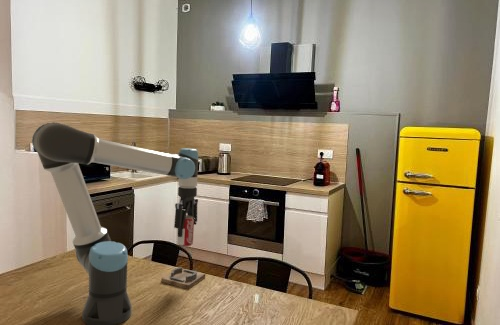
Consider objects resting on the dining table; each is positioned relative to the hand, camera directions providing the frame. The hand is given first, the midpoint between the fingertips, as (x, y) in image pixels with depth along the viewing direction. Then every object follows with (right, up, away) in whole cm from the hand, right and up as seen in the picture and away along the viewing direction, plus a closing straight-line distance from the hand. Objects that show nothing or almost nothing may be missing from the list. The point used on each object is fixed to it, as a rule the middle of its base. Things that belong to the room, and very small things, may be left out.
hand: (185, 241), depth 152 cm
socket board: (-1, -16, +2) cm, 16 cm away
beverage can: (0, -2, 0) cm, 2 cm away
